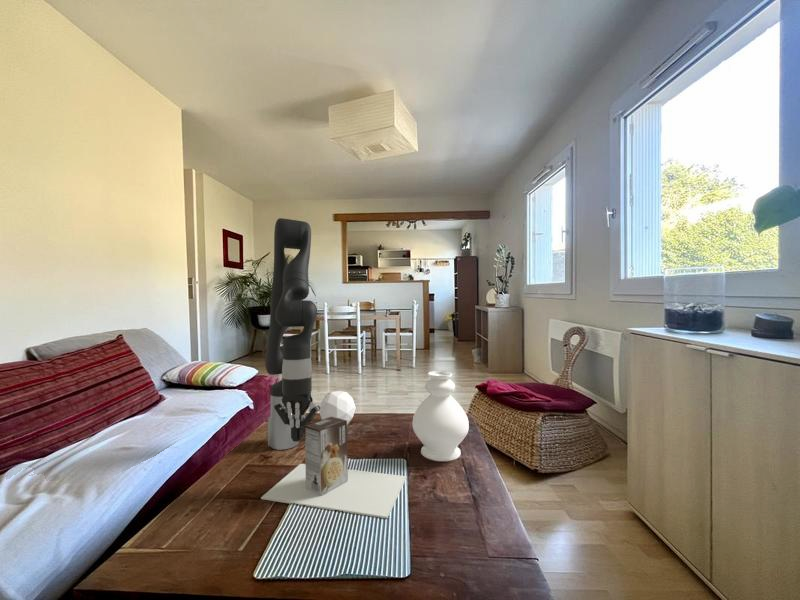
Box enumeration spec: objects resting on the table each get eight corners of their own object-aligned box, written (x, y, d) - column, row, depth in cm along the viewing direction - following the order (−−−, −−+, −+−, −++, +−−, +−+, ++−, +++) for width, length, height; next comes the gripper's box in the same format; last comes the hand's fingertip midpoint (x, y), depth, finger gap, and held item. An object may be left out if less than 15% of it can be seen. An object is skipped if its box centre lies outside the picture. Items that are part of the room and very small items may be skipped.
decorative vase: (402, 457, 103) (402, 376, 104) (426, 437, 119) (425, 366, 119) (458, 470, 95) (458, 381, 95) (475, 447, 111) (474, 370, 111)
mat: (261, 499, 82) (261, 497, 82) (300, 464, 99) (300, 463, 99) (387, 518, 74) (387, 516, 74) (406, 477, 91) (406, 476, 91)
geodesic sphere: (320, 421, 118) (341, 385, 124) (303, 412, 129) (323, 379, 135) (349, 439, 126) (368, 404, 132) (331, 428, 137) (349, 396, 143)
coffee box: (332, 474, 93) (331, 415, 93) (348, 481, 89) (348, 420, 89) (304, 488, 85) (304, 425, 86) (321, 497, 81) (320, 430, 82)
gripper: (266, 377, 88) (266, 444, 87) (312, 379, 84) (312, 448, 84) (283, 371, 95) (283, 433, 95) (326, 373, 92) (326, 437, 91)
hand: (297, 440), depth 89 cm, fingers closed
